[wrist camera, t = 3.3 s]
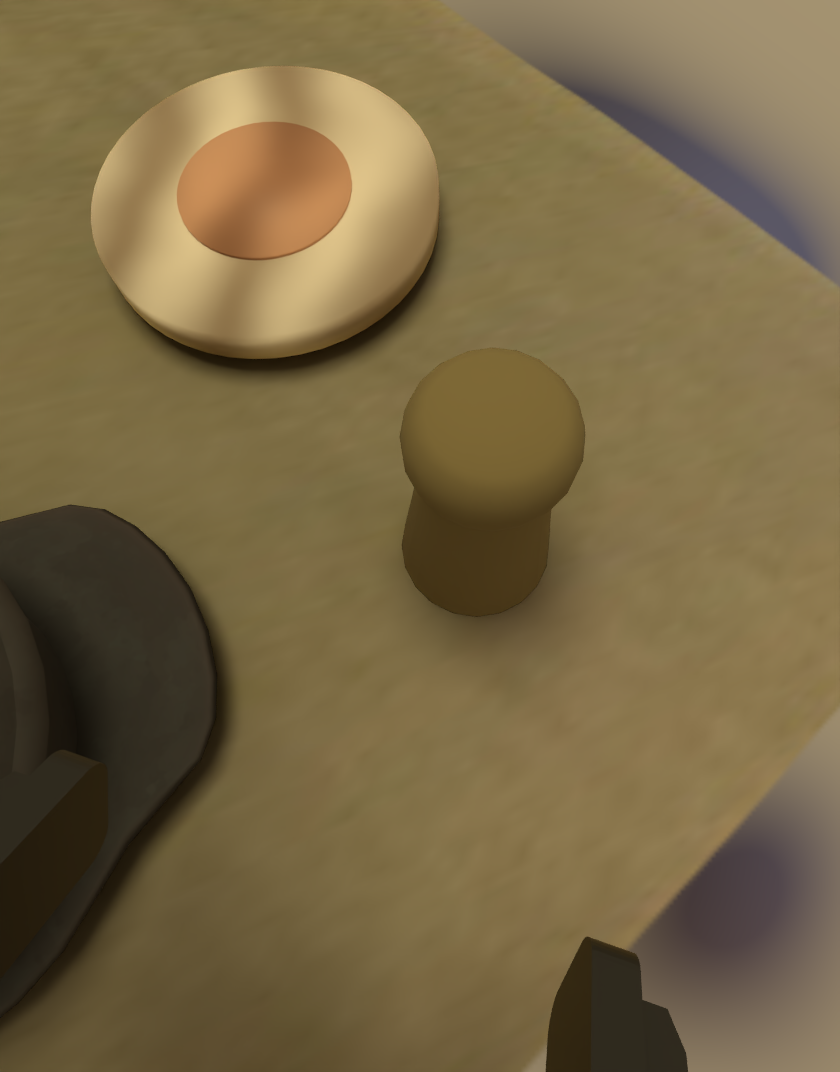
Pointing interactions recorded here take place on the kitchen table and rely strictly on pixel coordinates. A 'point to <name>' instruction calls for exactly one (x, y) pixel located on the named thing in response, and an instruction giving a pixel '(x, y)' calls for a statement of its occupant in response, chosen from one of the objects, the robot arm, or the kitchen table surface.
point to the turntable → (267, 211)
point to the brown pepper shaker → (486, 477)
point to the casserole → (98, 683)
